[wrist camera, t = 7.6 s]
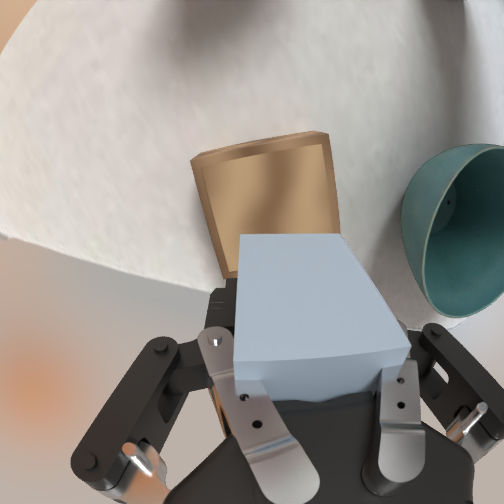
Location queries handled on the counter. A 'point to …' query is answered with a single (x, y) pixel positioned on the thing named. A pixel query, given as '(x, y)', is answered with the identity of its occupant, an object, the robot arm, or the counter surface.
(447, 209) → the plant pot
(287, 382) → the slate block
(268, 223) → the brown wooden tray
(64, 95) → the counter surface
